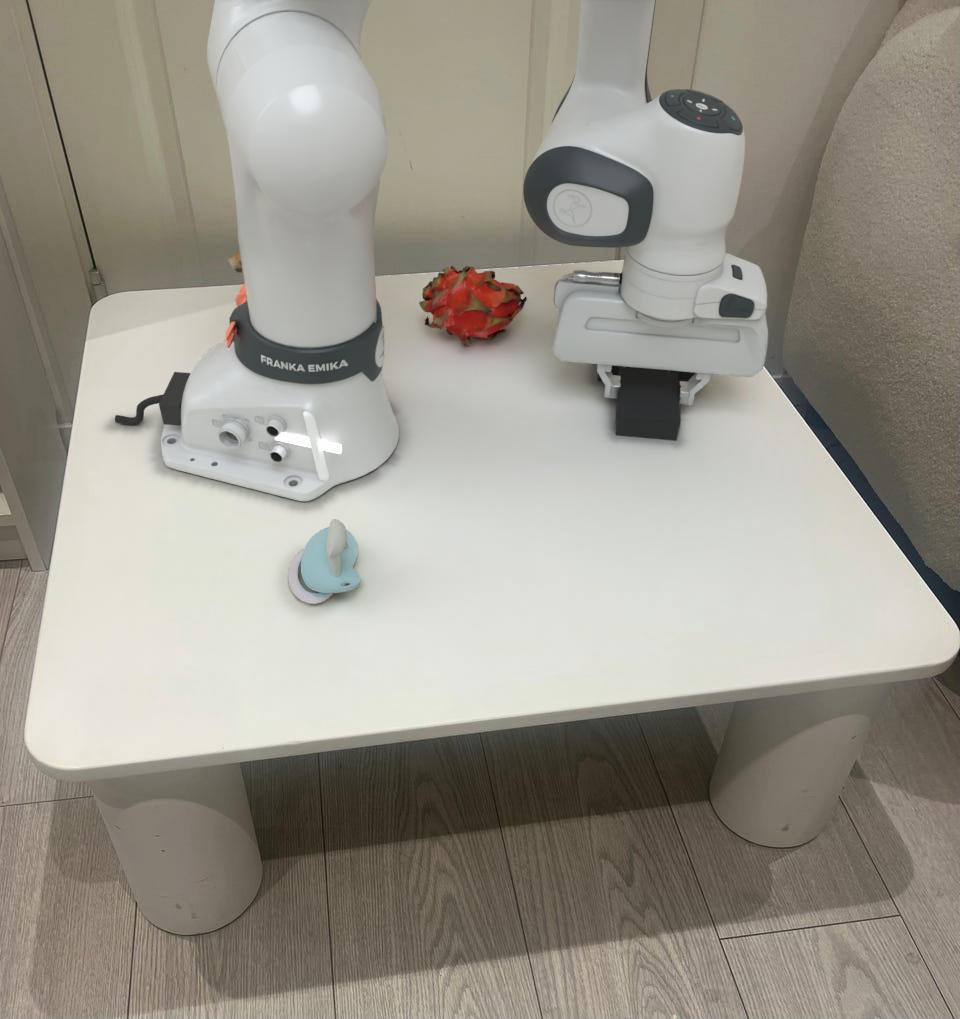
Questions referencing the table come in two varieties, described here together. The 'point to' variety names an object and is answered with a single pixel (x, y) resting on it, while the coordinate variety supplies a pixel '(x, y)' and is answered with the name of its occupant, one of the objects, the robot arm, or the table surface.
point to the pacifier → (325, 564)
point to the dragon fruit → (471, 303)
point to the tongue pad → (648, 404)
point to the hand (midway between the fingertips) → (648, 397)
